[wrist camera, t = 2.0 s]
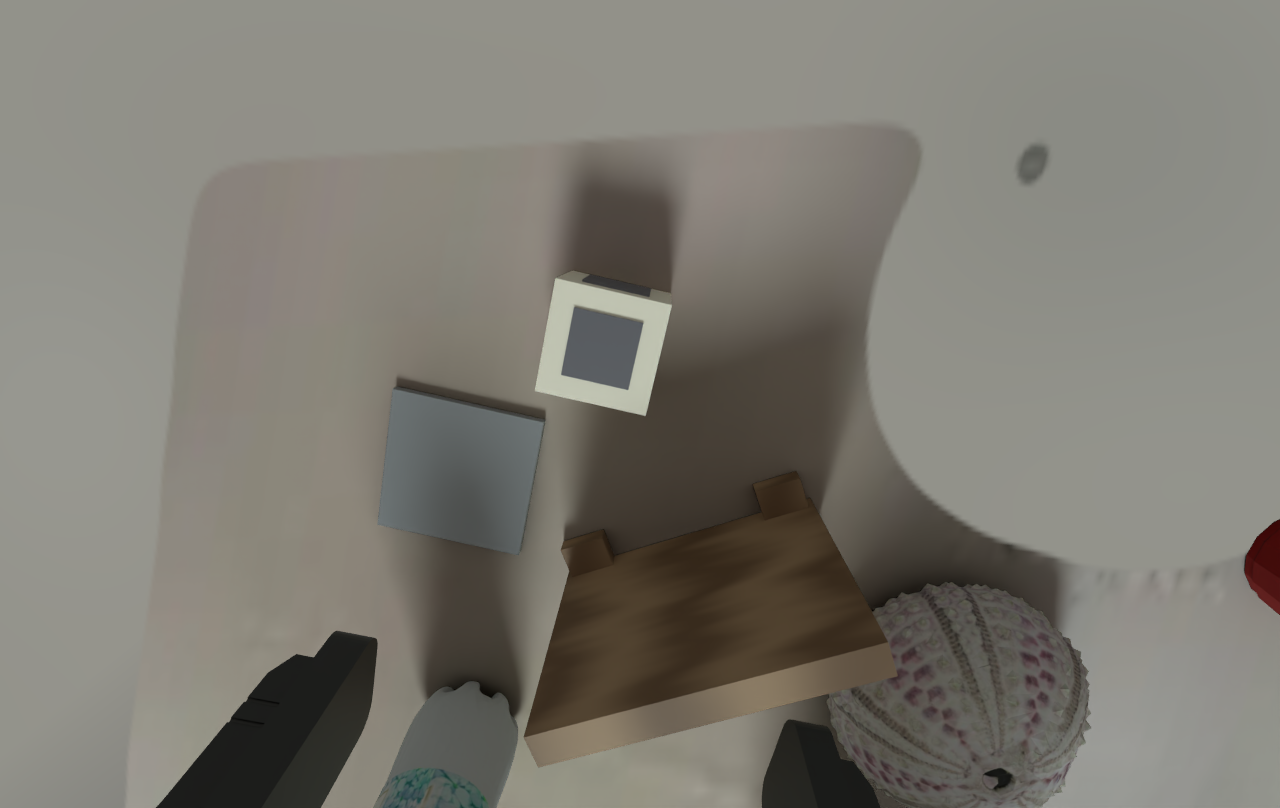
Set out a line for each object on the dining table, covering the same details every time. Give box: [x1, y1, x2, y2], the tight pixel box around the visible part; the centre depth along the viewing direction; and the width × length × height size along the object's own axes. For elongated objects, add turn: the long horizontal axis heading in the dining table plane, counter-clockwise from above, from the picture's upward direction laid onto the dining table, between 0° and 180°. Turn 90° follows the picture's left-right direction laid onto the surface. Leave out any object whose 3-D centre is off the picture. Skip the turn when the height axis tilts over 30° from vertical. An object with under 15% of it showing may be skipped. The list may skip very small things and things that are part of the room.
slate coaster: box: [378, 387, 545, 555], centre depth 33 cm, size 8×8×1 cm
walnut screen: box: [524, 471, 898, 767], centre depth 28 cm, size 14×5×12 cm, turn 109°
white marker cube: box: [535, 270, 672, 416], centre depth 29 cm, size 5×5×5 cm
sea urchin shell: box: [826, 582, 1091, 808], centre depth 32 cm, size 13×14×8 cm
